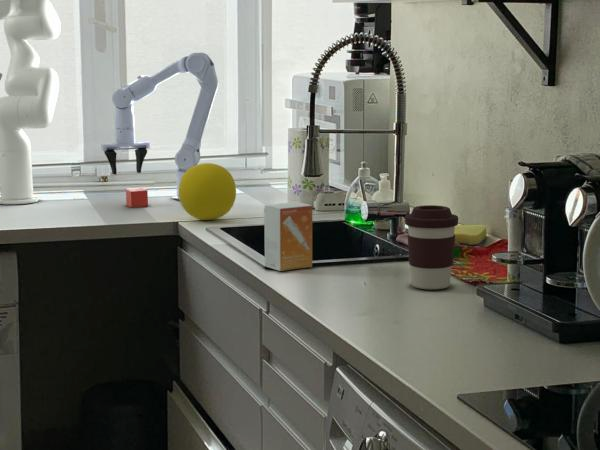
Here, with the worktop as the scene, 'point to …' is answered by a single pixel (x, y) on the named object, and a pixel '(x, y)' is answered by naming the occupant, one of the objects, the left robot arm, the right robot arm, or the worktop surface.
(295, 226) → the small box
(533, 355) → the worktop surface
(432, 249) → the coffee cup
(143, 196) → the red cube
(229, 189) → the toy
